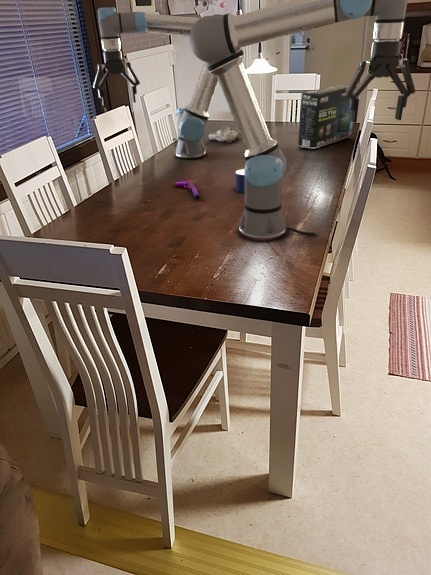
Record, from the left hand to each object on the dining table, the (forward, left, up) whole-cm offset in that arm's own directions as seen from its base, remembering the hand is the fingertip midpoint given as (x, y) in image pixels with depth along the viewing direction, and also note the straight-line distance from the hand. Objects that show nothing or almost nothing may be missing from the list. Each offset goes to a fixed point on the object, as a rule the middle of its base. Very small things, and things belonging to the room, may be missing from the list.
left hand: (119, 103), depth 204 cm
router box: (+11, +105, -29) cm, 109 cm away
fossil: (-25, +62, -29) cm, 73 cm away
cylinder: (+56, +34, -29) cm, 71 cm away
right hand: (+104, +53, +4) cm, 117 cm away
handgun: (+46, +13, -29) cm, 56 cm away
